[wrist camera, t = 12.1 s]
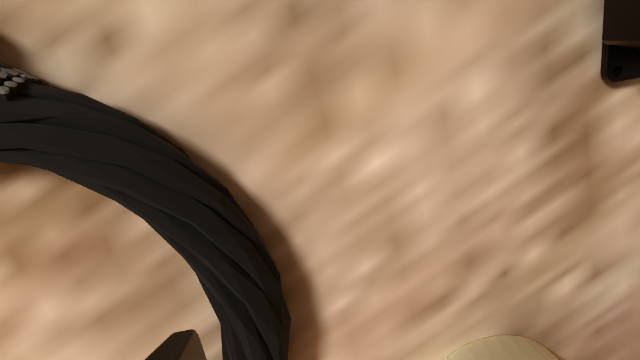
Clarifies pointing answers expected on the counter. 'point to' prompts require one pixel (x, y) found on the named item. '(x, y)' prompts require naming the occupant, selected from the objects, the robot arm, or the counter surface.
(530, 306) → the counter surface
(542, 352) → the reusable coffee cup
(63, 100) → the cable lock
